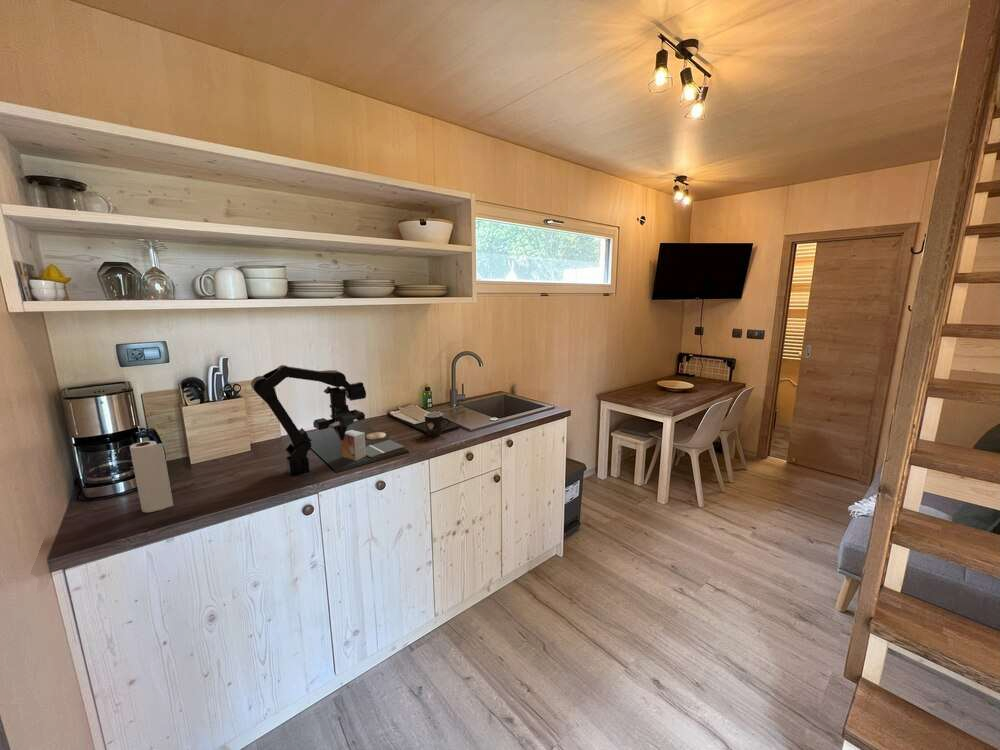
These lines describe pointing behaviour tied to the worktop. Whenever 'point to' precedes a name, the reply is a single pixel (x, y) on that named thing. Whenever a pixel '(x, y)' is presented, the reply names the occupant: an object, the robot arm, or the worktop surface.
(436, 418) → the coffee mug
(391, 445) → the mat
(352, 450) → the small box
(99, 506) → the worktop surface
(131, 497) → the worktop surface
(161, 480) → the paper towel roll
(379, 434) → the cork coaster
